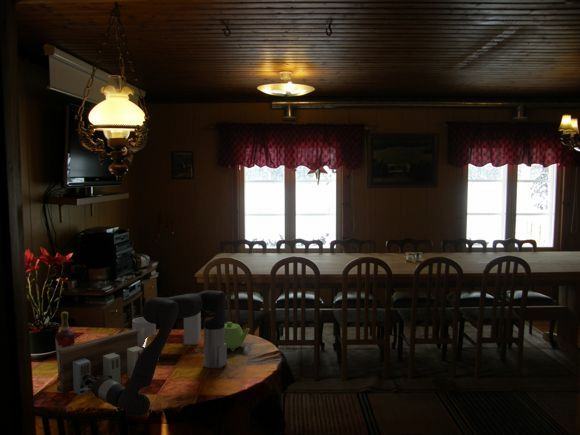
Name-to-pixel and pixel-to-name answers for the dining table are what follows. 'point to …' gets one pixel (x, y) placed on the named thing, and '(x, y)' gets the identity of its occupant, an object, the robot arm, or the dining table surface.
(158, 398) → the dining table surface
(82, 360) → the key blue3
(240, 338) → the teapot
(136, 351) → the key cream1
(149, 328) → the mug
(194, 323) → the milk carton
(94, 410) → the dining table surface
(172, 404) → the dining table surface
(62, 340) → the liquor
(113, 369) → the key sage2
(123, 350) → the backboard
